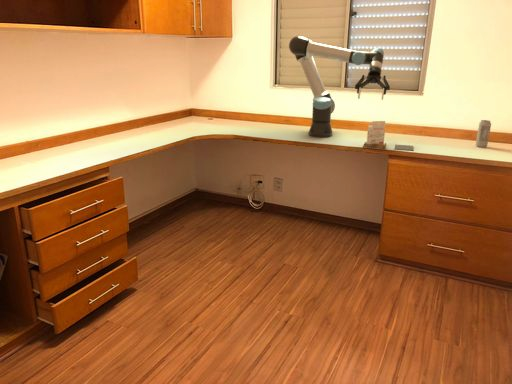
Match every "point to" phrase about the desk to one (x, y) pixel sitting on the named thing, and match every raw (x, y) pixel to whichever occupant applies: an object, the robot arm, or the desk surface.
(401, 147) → the mat
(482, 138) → the grey tall block
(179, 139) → the desk surface
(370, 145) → the holder
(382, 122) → the ink cartridge box
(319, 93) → the robot arm
